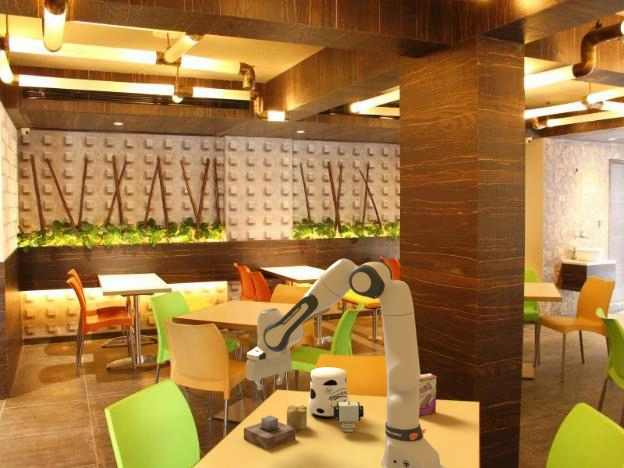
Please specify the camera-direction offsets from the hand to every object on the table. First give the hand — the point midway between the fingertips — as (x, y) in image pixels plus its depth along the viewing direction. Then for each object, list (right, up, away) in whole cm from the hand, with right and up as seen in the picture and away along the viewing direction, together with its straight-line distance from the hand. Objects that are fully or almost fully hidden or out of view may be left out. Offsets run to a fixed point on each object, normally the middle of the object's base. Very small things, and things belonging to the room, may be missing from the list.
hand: (269, 386), depth 229 cm
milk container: (+23, -19, +29) cm, 41 cm away
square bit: (0, -20, +1) cm, 20 cm away
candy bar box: (+63, -19, +28) cm, 72 cm away
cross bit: (+10, -20, +12) cm, 25 cm away
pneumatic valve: (+30, -20, +9) cm, 38 cm away
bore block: (0, -20, +1) cm, 20 cm away
